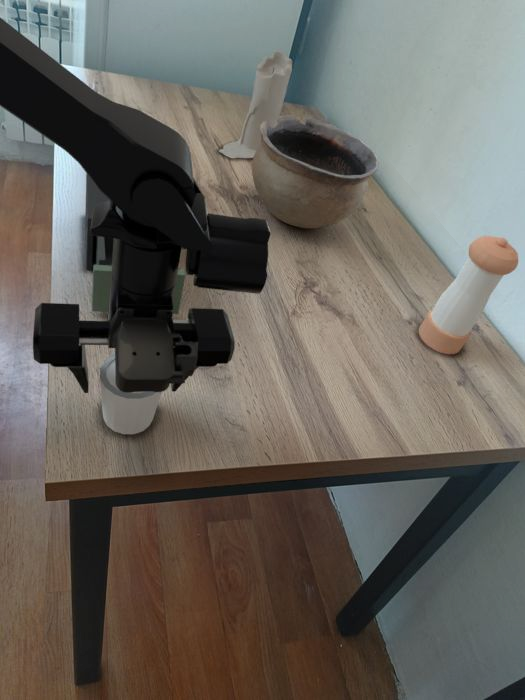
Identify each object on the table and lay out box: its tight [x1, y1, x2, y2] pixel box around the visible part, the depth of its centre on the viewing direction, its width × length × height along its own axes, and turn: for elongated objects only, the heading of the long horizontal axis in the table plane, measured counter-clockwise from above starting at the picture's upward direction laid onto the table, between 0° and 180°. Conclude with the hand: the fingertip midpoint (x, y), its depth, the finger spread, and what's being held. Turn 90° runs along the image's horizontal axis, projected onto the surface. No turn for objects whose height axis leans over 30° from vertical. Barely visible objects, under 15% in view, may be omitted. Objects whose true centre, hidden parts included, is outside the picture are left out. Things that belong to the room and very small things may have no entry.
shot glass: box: [99, 353, 163, 435], centre depth 59 cm, size 7×7×7 cm
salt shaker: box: [418, 235, 519, 355], centre depth 81 cm, size 7×7×19 cm
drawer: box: [91, 236, 186, 315], centre depth 73 cm, size 17×11×7 cm, turn 14°
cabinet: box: [84, 172, 109, 271], centre depth 82 cm, size 14×13×9 cm
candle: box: [218, 49, 293, 159], centre depth 114 cm, size 7×14×20 cm, turn 138°
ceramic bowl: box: [251, 114, 380, 229], centre depth 100 cm, size 22×22×15 cm
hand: (130, 389), depth 59 cm, fingers open, 9 cm apart
